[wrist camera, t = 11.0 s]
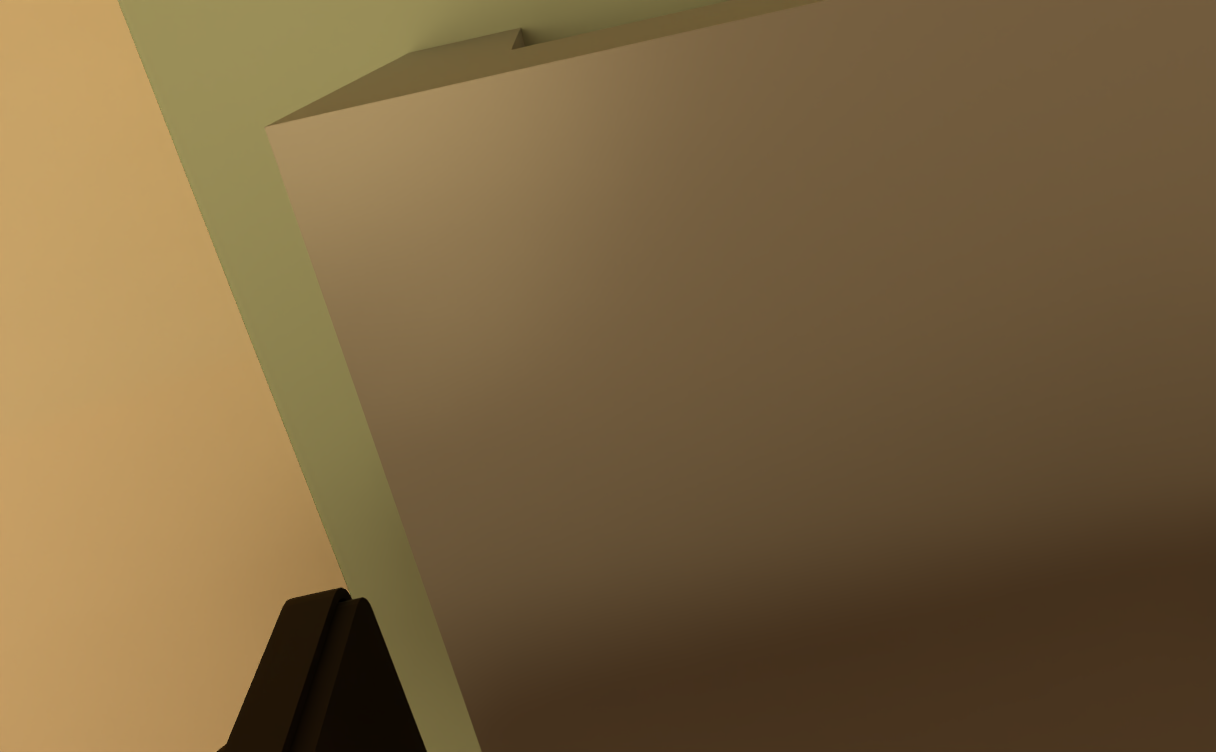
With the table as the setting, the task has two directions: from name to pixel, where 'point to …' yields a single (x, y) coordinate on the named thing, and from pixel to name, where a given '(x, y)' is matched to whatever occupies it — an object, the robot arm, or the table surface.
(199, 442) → the table surface
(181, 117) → the pin board
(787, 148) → the plug housing
